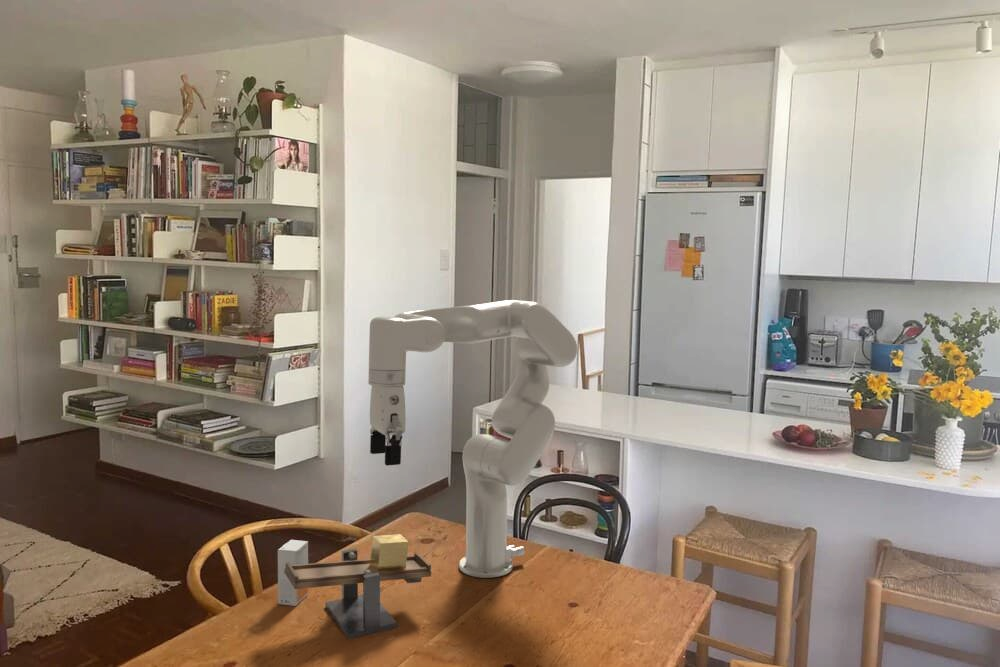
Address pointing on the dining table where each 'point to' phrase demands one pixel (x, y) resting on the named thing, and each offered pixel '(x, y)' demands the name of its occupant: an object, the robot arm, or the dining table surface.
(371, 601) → the stand
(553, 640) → the dining table surface
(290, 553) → the skincare box
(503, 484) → the robot arm
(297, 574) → the beam
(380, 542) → the block
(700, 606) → the dining table surface
